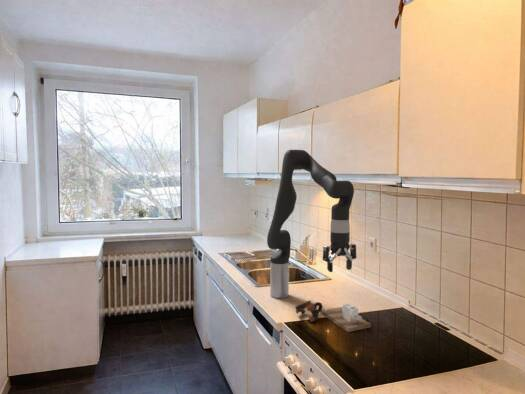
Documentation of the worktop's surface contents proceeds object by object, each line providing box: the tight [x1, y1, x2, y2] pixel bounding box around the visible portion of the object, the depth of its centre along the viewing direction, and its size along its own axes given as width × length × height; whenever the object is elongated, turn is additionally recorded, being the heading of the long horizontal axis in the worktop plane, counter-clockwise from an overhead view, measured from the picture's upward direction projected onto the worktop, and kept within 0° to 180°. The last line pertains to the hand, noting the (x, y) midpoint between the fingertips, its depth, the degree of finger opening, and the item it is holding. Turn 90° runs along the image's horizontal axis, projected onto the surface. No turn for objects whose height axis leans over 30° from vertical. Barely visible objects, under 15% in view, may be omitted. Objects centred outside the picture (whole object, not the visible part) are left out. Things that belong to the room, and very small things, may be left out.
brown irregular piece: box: [294, 300, 323, 323], centre depth 164 cm, size 12×10×8 cm
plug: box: [341, 302, 363, 323], centre depth 156 cm, size 11×4×6 cm, turn 23°
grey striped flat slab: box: [320, 306, 372, 333], centre depth 160 cm, size 20×11×2 cm, turn 23°
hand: (339, 270), depth 152 cm, fingers open, 8 cm apart
